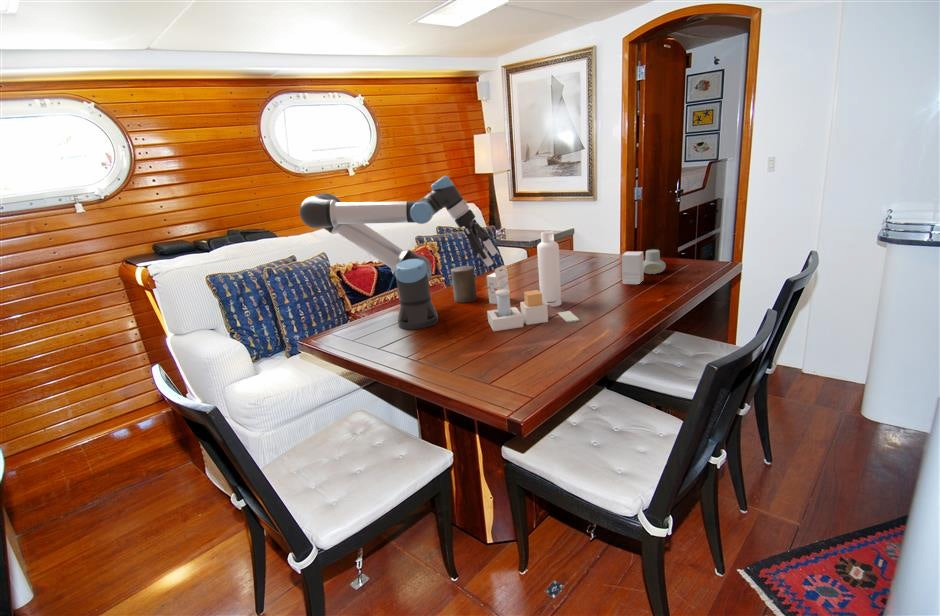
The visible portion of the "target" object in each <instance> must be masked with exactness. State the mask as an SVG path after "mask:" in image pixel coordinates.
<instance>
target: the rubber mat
mask: <svg viewBox="0 0 940 616" xmlns="http://www.w3.org/2000/svg"><path fill="white" fill-rule="evenodd" d="M557 314H558V315H559V316H560V317H561V318H562V319H563V320H564V321H565V322H566V323H576V322H580V319H579V318H578V316H577V315H575V314H574V313H572V311H570V310H567V311H559V312H557Z"/></svg>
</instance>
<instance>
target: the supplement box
mask: <svg viewBox="0 0 940 616" xmlns="http://www.w3.org/2000/svg"><path fill="white" fill-rule="evenodd" d="M643 261H644V251H625V252H624V253H623V254H622V255H621V271H622V272H621V275H622V278H621V279H622V284H623V285H638V284H640V283H641V282H642V281H643V282H644V268H643ZM643 282H642V283H643ZM642 283H641V284H642ZM641 284H640V285H641Z"/></svg>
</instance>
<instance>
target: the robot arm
mask: <svg viewBox="0 0 940 616" xmlns="http://www.w3.org/2000/svg"><path fill="white" fill-rule="evenodd" d="M430 188H431V191H430V192H429V193H427V194H425V196H423V197H421V198H420V199H418V200H409V201H405V200H404V201H402V200H401V201H362V202H361V201H359V202H357V201H355V202H353V201H352V202H351V201H349V202H345V201H344V202H341V200H340V199H339V198H338V197H337V196H335V195H333V194H330V193H324V192H323V193H318V194H315V195H312V196H308V197H307V198H305V199H304V200H303V201H302V202H301V204H300V207H299V210H298V211H299V216H300V217H299V218H300V219H301V221H302V222H303V223H304V224H305V225H306V226H307V227H309V228H312V229H315V230H316V229H318V230H319V229H324V230H326V231H327V232H329V233H330V234H331V235H335V234H338V235H340V236H341V237H343V238H345V239H347V241H348V242H351V243H353V244H354V245H355V246H357V247H358V248H360V249H362V251H364V252H365V253H367V254H369V255H371V256H372V257H373V258H375V259H377V260H378V262H379V261H380V262H381V263H383V264H384V265H386V266H387V267H389V268H390V270H391V273H392V275H394V277H395V280H396V286H397V294H398V300H399V304H400V305H399V311H398V312H399V313H398V318H397V324H398V327H399V328H401V329H403V330H420V329H425V328H428V327H431V326H433V325H436V324H437V323H438V322H439V316H438V312H437V310H436V308H435V305H434V304H433V302H432V298H431V291H430V280H431V278H432V275H433V267H432V264H431V262H430V260H429V259H428V258H426V257H425V256H423V255H421V254H417V253H415V252H413V251H412V250H411V249H402V248H400V247H399V246H398V245H396V244H395V243H393V242H391V241H390V240H388V239H387V238H386V237H384V236H383V235H381V234H380V233H379V232H377V231H375V230H374V229H372V228H371V227H370V226H368V225H367V224H400V223H401V224H404V223H406V224H407V223H410V224H415V223H416V224H419V225H422V224H423V225H424V224H427V223H429V222H430V221H431V220H432V218H433V216H434V215H435V214H437V213H438V212H440V211H441V210H443V208H445V209H446V211H447V212H448V214H449V215H450V217H451V218H452V219H453V220H454V222H455V224H456V225H457V227H458V228H460V229H461V228H464V230H463V232H464V234H465V236H466V238H467V239H468V241H469V244H470V246H471V248H472V249H473V251H474V254H475V255H477V254H478V256H479V257H480V259H481V260H482V261H483V263H484V264H485V266H486V267H488V268H489V267H490V266H492V265H493V264H494V261H493V260H492V258H491V257H490V255H491V256H492V257H493V256H494V255H496V254H498V252H499V251H498V250H497V249H496V247H495V246H494V244H493V242H492V241H491V240H490V238H491V236H490V235H489V234H488V233H487V232H486V231H485V230H484V229H483V227H482V226H481V225H480V224H479V223H478V222H477V220H476V219H475V218H476V215H475V214H474V212H473V211H472V210H471V209H470V206H469V205H468V204H467V203H468V201H467V200H464V197H463V196H462V195H461V193H460V191H459V190H458V188H457V187H456V185H455V184H454V182H453V181H452V180H451V179H450V178H449V176H448V175H443V176H442V177H441V178H439V179H438V180H436V181H435V182H433V183H432V184H431V185H430ZM480 240H481V241H482V243H483V245H484V246H485V248H486V250H488V252H489V253H490V255H489V254H488V253H487V251H486V250H485V249H484V248H483V246H482V244H481V241H480Z"/></svg>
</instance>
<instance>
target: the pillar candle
mask: <svg viewBox="0 0 940 616" xmlns="http://www.w3.org/2000/svg"><path fill="white" fill-rule="evenodd" d="M450 274H451V281H452V290H453V291H452V292H453V298H454V302H456V303H463V304H464V303H470V302H474V301H476V300H477V299H478V295H477V286H476V280H475V279H476V278H475V270H474V266H471V265H461V266H458V267H453V268H451V269H450Z"/></svg>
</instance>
